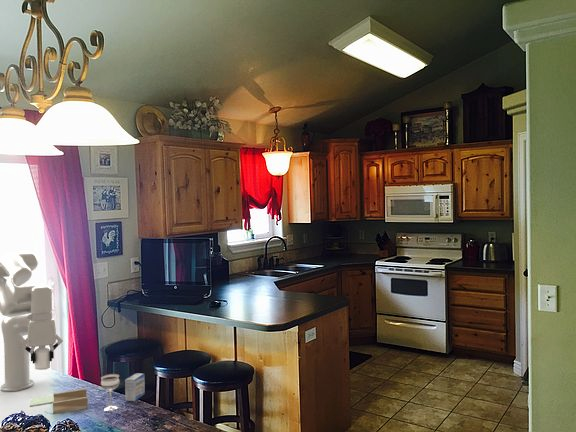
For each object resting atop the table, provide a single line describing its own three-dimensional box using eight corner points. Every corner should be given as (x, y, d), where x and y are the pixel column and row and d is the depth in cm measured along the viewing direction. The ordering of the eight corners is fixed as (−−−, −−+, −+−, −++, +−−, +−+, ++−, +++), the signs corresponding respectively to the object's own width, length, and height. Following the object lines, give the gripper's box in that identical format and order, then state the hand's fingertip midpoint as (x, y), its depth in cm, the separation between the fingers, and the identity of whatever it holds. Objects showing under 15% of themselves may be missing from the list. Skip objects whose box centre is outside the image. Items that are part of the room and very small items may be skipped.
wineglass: (123, 406, 183) (123, 375, 183) (108, 413, 177) (108, 381, 177) (112, 403, 187) (111, 373, 187) (97, 409, 181) (96, 378, 181)
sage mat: (31, 399, 193) (31, 397, 193) (55, 395, 197) (55, 393, 197) (29, 406, 185) (29, 405, 185) (55, 402, 189) (55, 401, 189)
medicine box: (135, 401, 188) (134, 379, 188) (125, 401, 189) (124, 379, 189) (145, 394, 196) (144, 373, 196) (135, 393, 197) (134, 372, 197)
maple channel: (53, 403, 188) (53, 393, 188) (86, 398, 193) (86, 388, 193) (53, 414, 178) (52, 403, 178) (87, 408, 183) (87, 397, 183)
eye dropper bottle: (40, 371, 188) (40, 341, 188) (33, 368, 191) (33, 339, 191) (51, 368, 191) (50, 338, 191) (44, 365, 194) (43, 336, 194)
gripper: (16, 320, 184) (17, 367, 184) (65, 316, 191) (65, 361, 191) (18, 317, 191) (19, 362, 191) (65, 313, 198) (65, 356, 198)
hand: (42, 361), depth 191 cm, fingers closed on eye dropper bottle, 5 cm apart
